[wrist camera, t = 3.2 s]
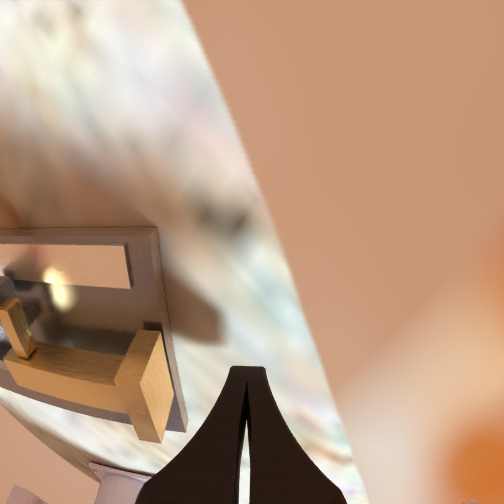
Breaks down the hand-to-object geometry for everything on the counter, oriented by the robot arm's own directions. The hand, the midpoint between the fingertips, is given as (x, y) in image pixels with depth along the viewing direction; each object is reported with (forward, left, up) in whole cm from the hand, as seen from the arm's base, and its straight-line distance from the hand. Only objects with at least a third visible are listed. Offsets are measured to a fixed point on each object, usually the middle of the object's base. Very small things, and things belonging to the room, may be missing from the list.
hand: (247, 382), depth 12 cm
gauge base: (0, +12, -2) cm, 12 cm away
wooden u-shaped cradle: (+1, +8, -1) cm, 8 cm away
